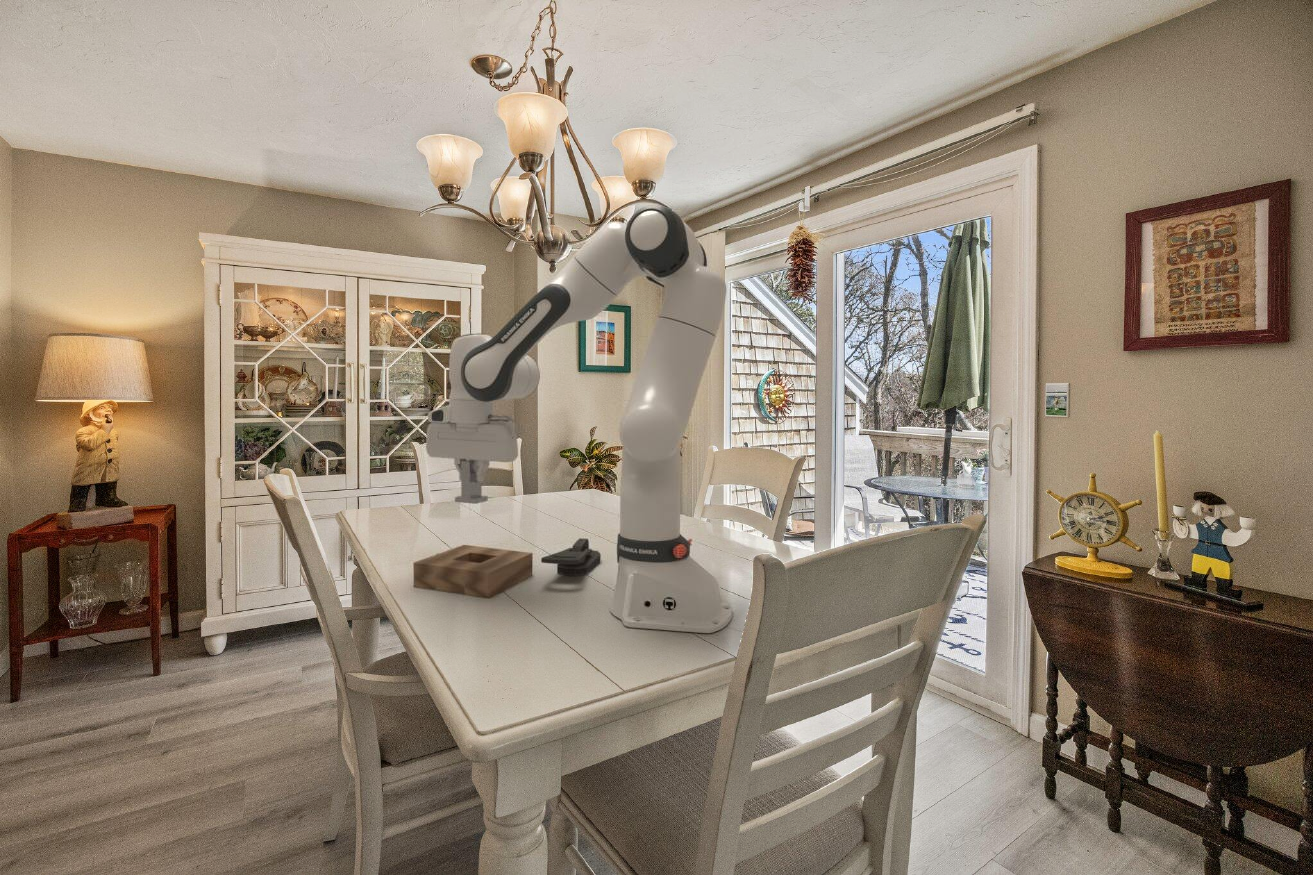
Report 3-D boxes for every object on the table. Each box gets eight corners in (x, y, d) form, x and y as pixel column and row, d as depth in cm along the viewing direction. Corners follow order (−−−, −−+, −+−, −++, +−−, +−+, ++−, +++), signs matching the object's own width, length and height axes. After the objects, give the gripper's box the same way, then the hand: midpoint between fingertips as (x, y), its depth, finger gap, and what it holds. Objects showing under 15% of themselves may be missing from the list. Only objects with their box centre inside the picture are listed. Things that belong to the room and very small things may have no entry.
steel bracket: (487, 500, 127) (487, 460, 126) (475, 503, 123) (475, 462, 122) (467, 498, 128) (467, 458, 128) (455, 501, 125) (455, 460, 124)
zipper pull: (537, 558, 123) (566, 530, 148) (537, 590, 124) (566, 557, 148) (580, 560, 122) (603, 532, 147) (580, 592, 123) (603, 559, 148)
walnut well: (532, 575, 133) (532, 553, 133) (488, 598, 118) (488, 572, 118) (464, 566, 139) (463, 544, 139) (413, 586, 124) (413, 562, 124)
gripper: (524, 415, 124) (523, 482, 125) (441, 412, 131) (441, 476, 132) (506, 416, 118) (506, 487, 119) (421, 413, 125) (421, 479, 126)
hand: (471, 481), depth 126 cm, fingers closed on steel bracket, 2 cm apart
